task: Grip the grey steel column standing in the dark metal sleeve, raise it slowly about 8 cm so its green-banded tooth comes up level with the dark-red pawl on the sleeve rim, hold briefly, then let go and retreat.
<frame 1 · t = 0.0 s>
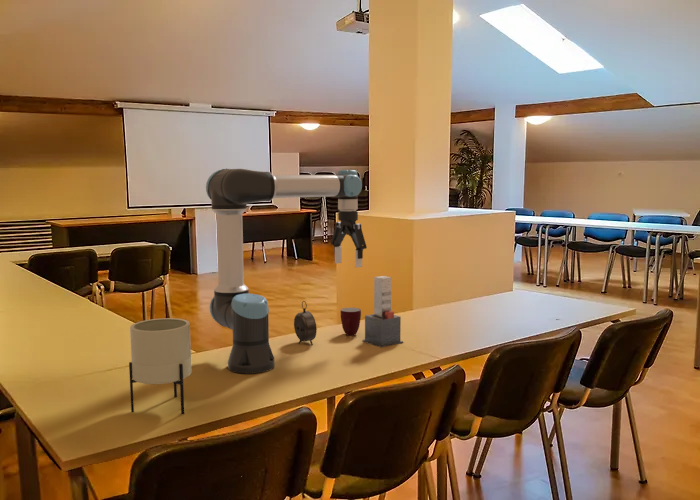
hand: (348, 265, 237), 28 cm above the table, fingers open, 13 cm apart
column: (383, 308, 229), point 13 cm above the table, slide at 0.0 cm
alarm clock: (304, 343, 230), on the table
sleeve: (382, 341, 231), on the table
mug: (350, 335, 241), on the table
planter: (162, 408, 166), on the table
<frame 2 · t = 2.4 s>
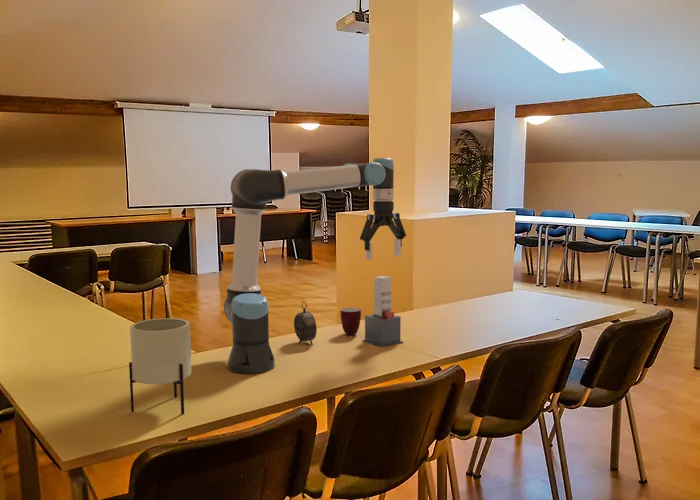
hand: (383, 257, 227), 32 cm above the table, fingers open, 13 cm apart
nothing on the table moved.
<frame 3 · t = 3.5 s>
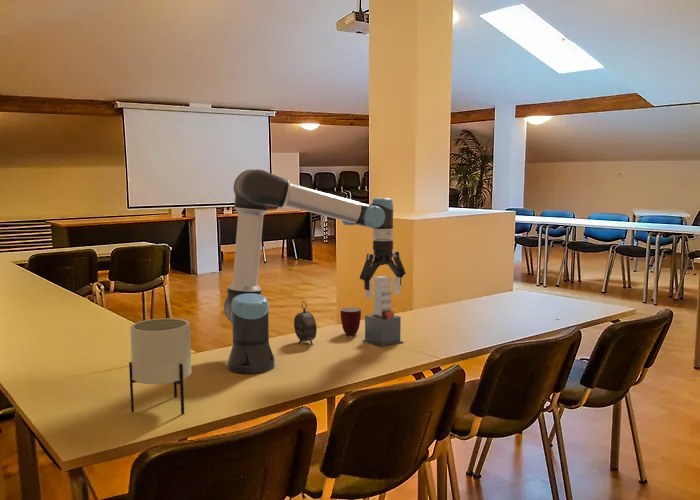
hand: (383, 296, 229), 18 cm above the table, fingers open, 13 cm apart
nothing on the table moved.
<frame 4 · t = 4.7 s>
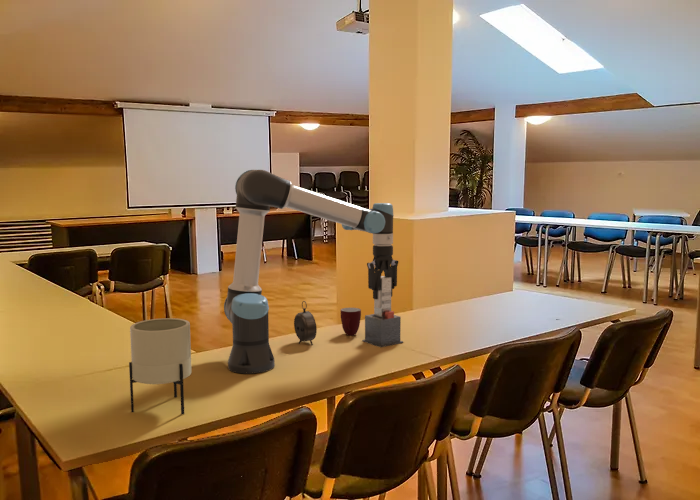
hand: (382, 306, 229), 14 cm above the table, fingers closed on column, 4 cm apart
column: (383, 308, 229), point 13 cm above the table, slide at 0.0 cm, touching gripper
everything else where it was.
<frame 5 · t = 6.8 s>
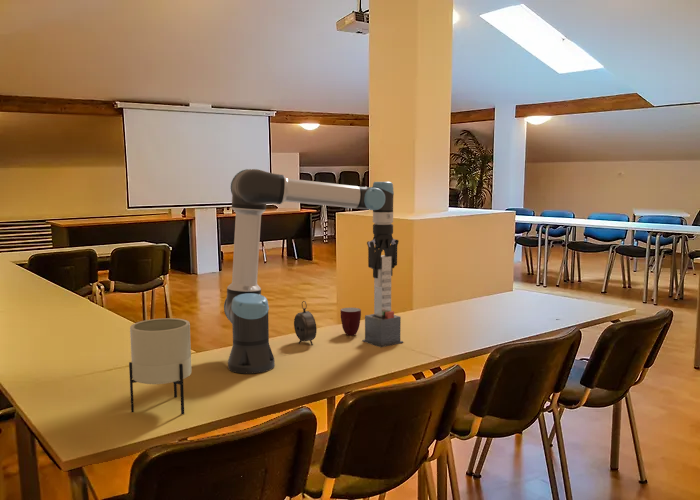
hand: (382, 285, 229), 22 cm above the table, fingers closed on column, 4 cm apart
column: (383, 288, 228), point 21 cm above the table, slide at 7.9 cm, touching gripper
everything else where it was.
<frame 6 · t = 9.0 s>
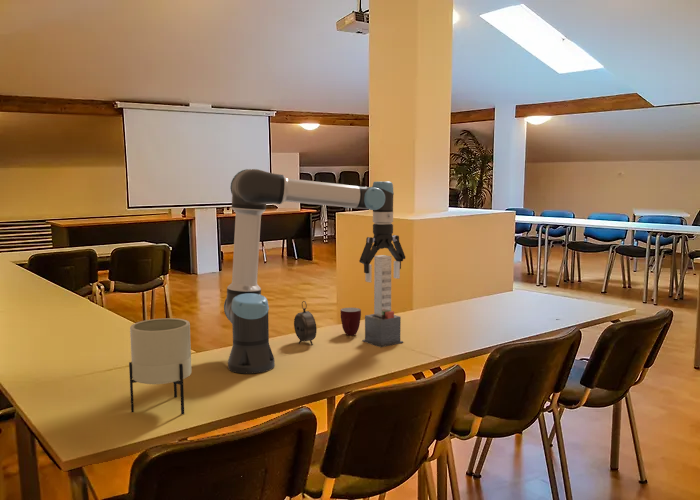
hand: (382, 280, 228), 24 cm above the table, fingers open, 13 cm apart
column: (383, 287, 228), point 21 cm above the table, slide at 8.0 cm
everything else where it was.
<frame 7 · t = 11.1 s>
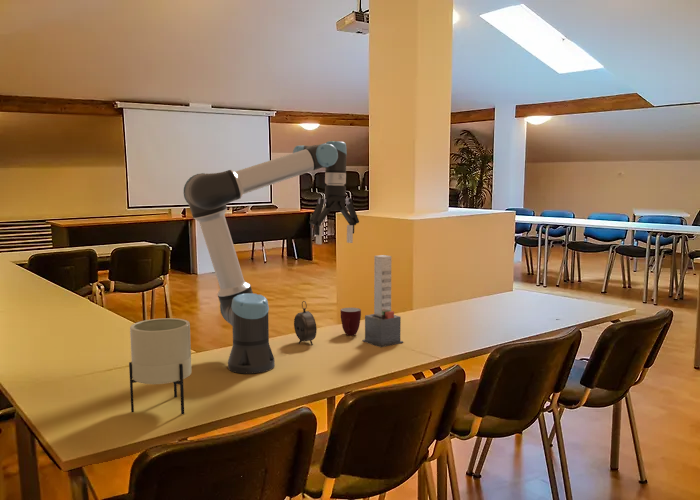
hand: (334, 243, 223), 38 cm above the table, fingers open, 13 cm apart
nothing on the table moved.
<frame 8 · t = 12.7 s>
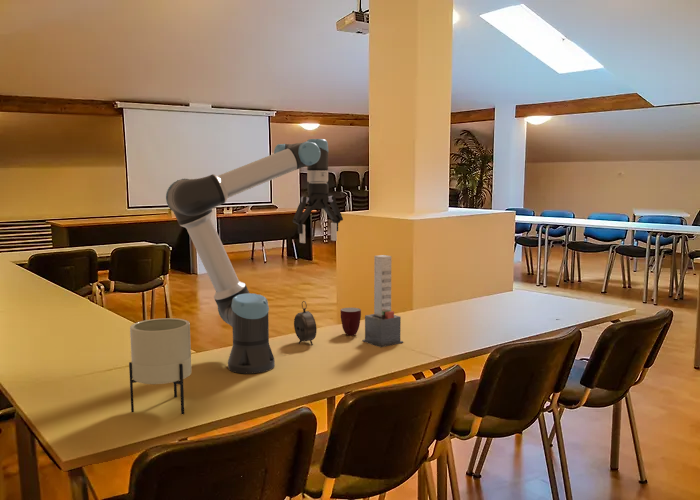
hand: (318, 241, 222), 39 cm above the table, fingers open, 13 cm apart
nothing on the table moved.
at the end: column slide at 8.0 cm; the gripper is holding nothing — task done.
